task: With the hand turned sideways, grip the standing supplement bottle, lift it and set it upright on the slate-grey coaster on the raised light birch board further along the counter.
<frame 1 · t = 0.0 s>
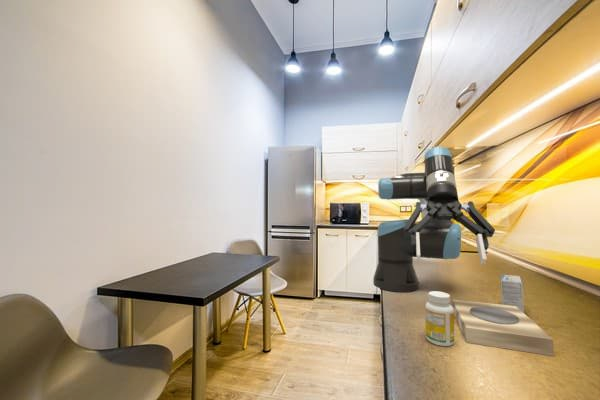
hand: (449, 259, 63), 15 cm above the countertop, tool tilted 35°, fingers open, 13 cm apart
medicine box: (512, 311, 72), on the countertop
supplement bottle: (439, 341, 56), on the countertop
birch board: (493, 329, 61), on the countertop
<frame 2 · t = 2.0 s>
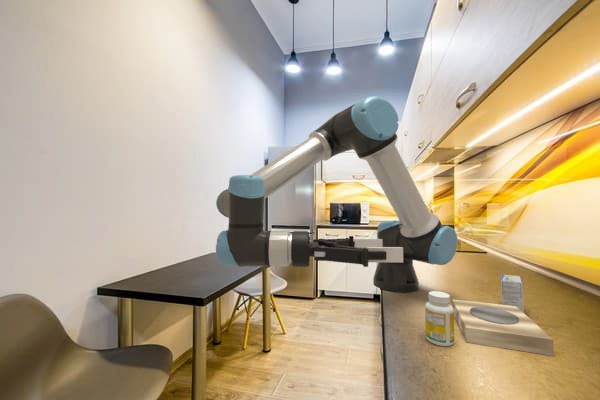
hand: (391, 249, 56), 19 cm above the countertop, tool horizontal, fingers open, 13 cm apart
nothing on the countertop moved.
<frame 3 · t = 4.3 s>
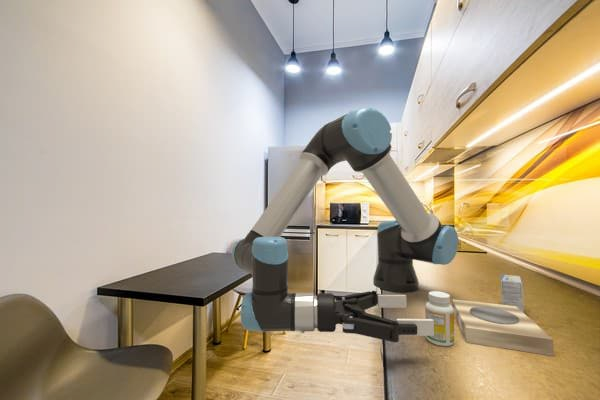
hand: (418, 312, 56), 6 cm above the countertop, tool horizontal, fingers open, 13 cm apart
nothing on the countertop moved.
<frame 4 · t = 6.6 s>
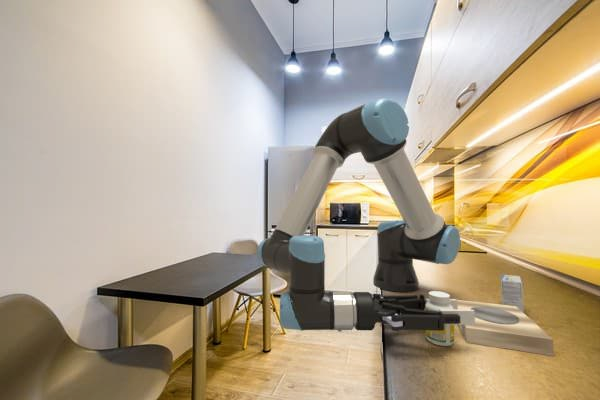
hand: (464, 311, 56), 6 cm above the countertop, tool horizontal, fingers closed on supplement bottle, 5 cm apart
supplement bottle: (439, 341, 56), on the countertop, touching gripper
everything else where it was.
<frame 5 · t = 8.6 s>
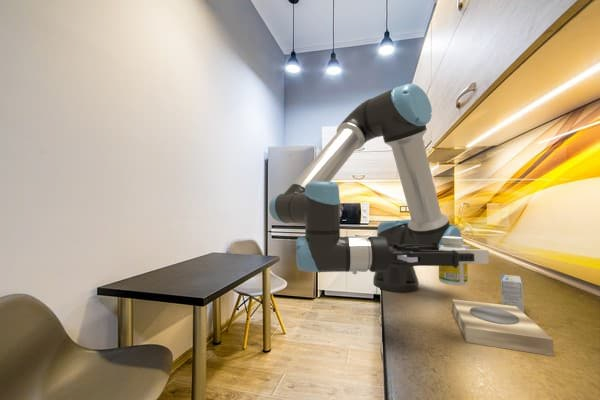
hand: (477, 253, 57), 18 cm above the countertop, tool horizontal, fingers closed on supplement bottle, 5 cm apart
supplement bottle: (453, 283, 57), point 12 cm above the countertop, touching gripper
everything else where it was.
when the fingers open (11 cm above the countertop, at t = 10.9 s): supplement bottle drops 1 cm, resting on birch board.
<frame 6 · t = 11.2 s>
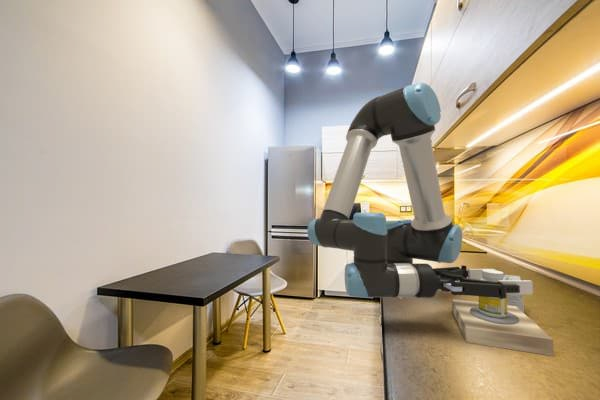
hand: (511, 280, 61), 11 cm above the countertop, tool horizontal, fingers open, 10 cm apart
supplement bottle: (492, 314, 61), point 3 cm above the countertop, touching birch board
everything else where it was.
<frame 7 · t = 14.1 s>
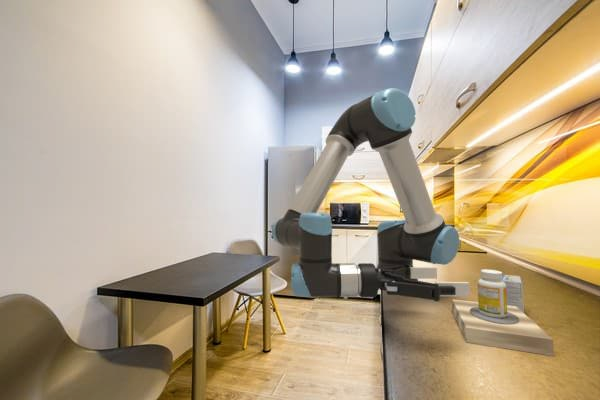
hand: (450, 280, 61), 11 cm above the countertop, tool horizontal, fingers open, 13 cm apart
nothing on the countertop moved.
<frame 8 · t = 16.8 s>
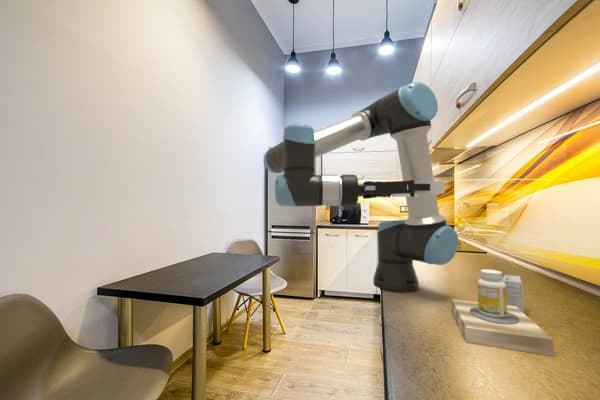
hand: (429, 189, 64), 32 cm above the countertop, tool horizontal, fingers open, 13 cm apart
nothing on the countertop moved.
at the end: supplement bottle inside the target area on the birch board (0.1 cm from its centre), point 3.2 cm above the birch board's base; supplement bottle tilted 1°; the gripper is holding nothing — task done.
